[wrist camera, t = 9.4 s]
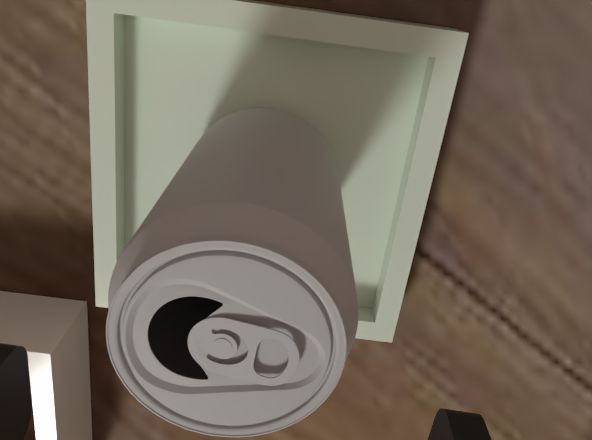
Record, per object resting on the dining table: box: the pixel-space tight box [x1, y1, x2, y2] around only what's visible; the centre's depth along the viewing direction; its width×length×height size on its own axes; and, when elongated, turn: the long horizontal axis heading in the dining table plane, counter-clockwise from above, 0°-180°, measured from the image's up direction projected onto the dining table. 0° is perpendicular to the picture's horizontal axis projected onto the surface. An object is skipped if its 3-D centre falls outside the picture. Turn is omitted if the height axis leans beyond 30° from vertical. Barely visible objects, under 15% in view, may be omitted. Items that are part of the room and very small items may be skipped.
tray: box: [86, 0, 469, 342], centre depth 23 cm, size 14×14×2 cm
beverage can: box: [106, 108, 358, 437], centre depth 18 cm, size 6×6×12 cm
